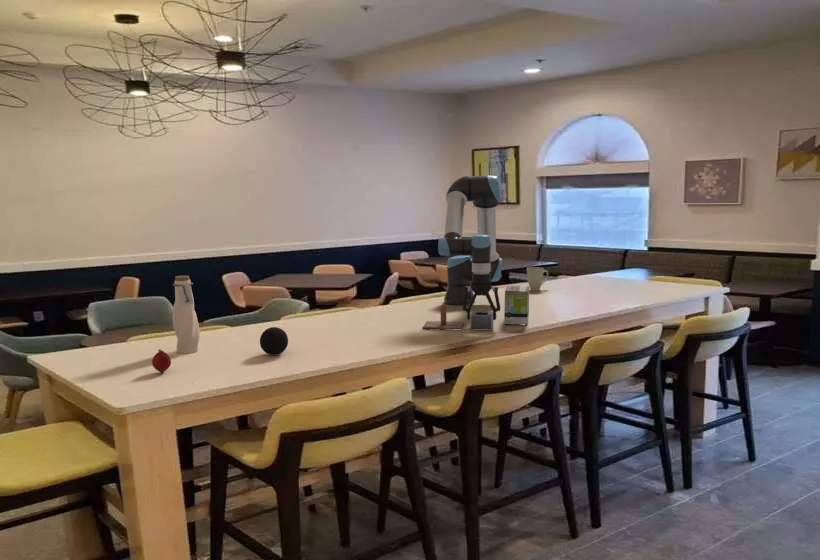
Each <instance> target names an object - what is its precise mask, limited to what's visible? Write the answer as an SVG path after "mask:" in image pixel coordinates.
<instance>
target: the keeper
mask: <svg viewBox="0 0 820 560" xmlns="http://www.w3.org/2000/svg"><path fill="white" fill-rule="evenodd" d="M464 325H465V321H447V306H446V305H445V304H442V305H440V321H439V320H438V321H437V320H436V321H433V320H426V321H425V322H424V324H423V326H422V327H421V328H422V329H425V331H426V330H427V331H428V330H429V331H431V330H430V329H462V330H463V328H464ZM462 327H463V328H462Z"/></svg>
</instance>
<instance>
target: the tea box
mask: <svg viewBox="0 0 820 560" xmlns="http://www.w3.org/2000/svg"><path fill="white" fill-rule="evenodd" d="M529 312H530V287H529V285H506V288H505V290H504V314H503V315H504V318H503V321H504V322H503V323H504V324H503V325H505V324H527V323H528V322H529V317H530V315H529V314H530V313H529ZM527 325H528V324H527Z"/></svg>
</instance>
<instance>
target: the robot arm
mask: <svg viewBox="0 0 820 560" xmlns="http://www.w3.org/2000/svg"><path fill="white" fill-rule="evenodd" d="M500 180H501V179H500V178H499V176H497V175H489V174H488V175H465V176H462V177H461V176H460V178H458V179H456V180H455V181H454V182H453V183H452V184H451V185H450V186H449V188H448V189H447V191H446V194H445V195H446V196H445V202H446V204H447V206H446V216H445V217H446V218H445V224H444V236H443V237H439V238H438V242H437V243H438V244H437V246H438V247H437V250H438V251H437V252H438V254H439V255H440V256H443V257H444V256H446V257H449V258H448V259H447V264H446V265H447V266H446V269H447V270H446V271H447V289H446V291H445V295H444V298H443V299H444V300H443V302H444V303H445V304H447V305H452V306H453V305H454V306H462V311H464V312H466V315H467V316H466V317H467V318H466V319H467V320H468V321H469V328H470V327H471V315H472V312H473V311H471V310H472V308H473V305H474V303H475V302H476V298H477V297H478V296H479V297H480V296H482V297H486V299H487V301H488V303H489V306H490V308H491V310H492V311H490V312H491V329H494V321H495V320H497V312H500V311H501V303H500V298H499V293H498V290H499V287H498V286H497V285H496V286H493V285H492V282H499V281H500V279H501V274H502V264H503V258H501V257H500V255H499V253H498V252H497V237H496V236H497V233H496V231H497V230H496V209H497V207H498V206H499V204H500V203H499V202H501V201H502V199H503V197H502V187H501V181H500ZM467 202H473V206H474V207H475V208H476V222H477V226H476V227H477V228H476V229H477V234H474V235H472V236H471V237H462V236H463V228H464V227H463V225H464V213H465V206H466V204H467ZM491 290H492V292H494V298H495V303H494V302H493V300H492V297H491V295H490V291H491ZM494 304H496V307H495V305H494ZM467 305H468V307H467Z"/></svg>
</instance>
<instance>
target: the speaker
mask: <svg viewBox="0 0 820 560" xmlns="http://www.w3.org/2000/svg"><path fill="white" fill-rule="evenodd" d="M259 345H260V347H261V349H262V351H263V352H264V353H265V354H267V355H271V356H278V355H280V354H282V353H283V352H285V351H286V349H287V347H288V345H289V337H288V334H287V333H286V331H285V330H283V329H282V328H280V327H278V326H272V327H268V328H267V329H265V330H264V331H263V332H262V333H261V334H260V337H259ZM277 354H278V355H277Z"/></svg>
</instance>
